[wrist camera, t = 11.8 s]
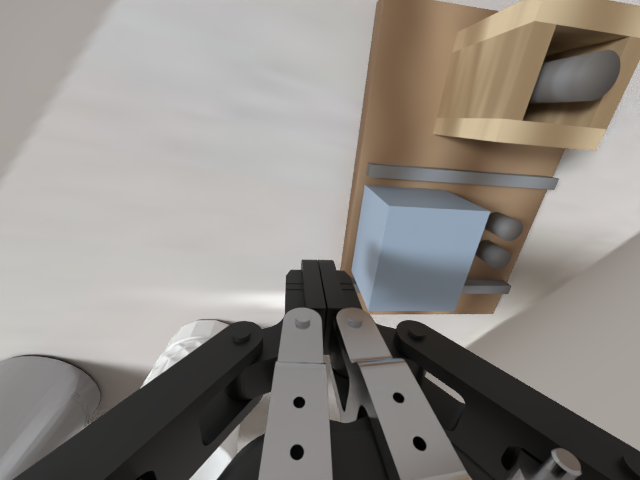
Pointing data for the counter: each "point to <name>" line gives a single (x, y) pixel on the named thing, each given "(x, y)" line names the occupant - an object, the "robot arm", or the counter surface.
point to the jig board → (456, 138)
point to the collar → (535, 72)
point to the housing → (415, 247)
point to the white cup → (174, 352)
